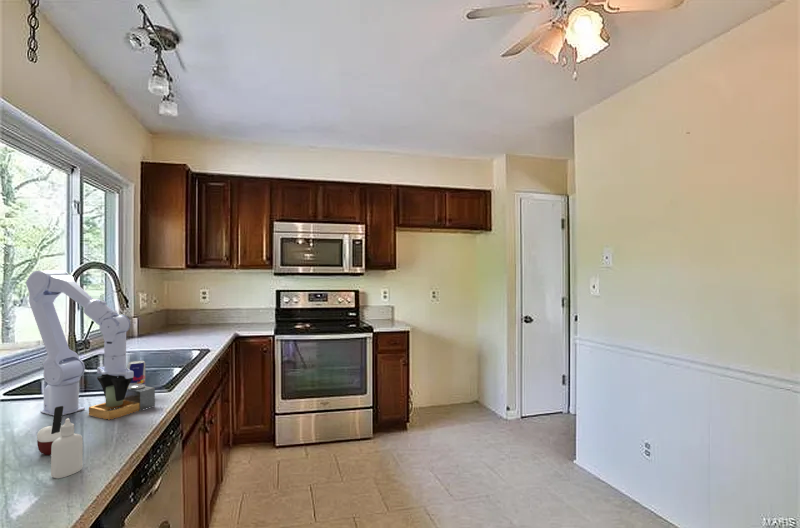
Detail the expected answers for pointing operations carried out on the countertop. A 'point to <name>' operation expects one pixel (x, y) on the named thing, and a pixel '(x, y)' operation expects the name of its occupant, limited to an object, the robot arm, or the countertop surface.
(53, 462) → the eye dropper bottle
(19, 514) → the countertop surface
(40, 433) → the cocoa
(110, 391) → the spout can
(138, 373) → the energy drink
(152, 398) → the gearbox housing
